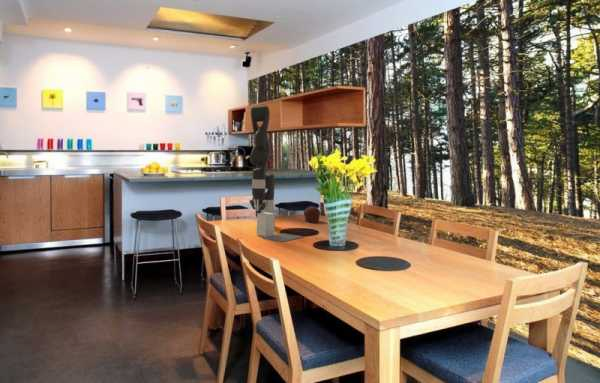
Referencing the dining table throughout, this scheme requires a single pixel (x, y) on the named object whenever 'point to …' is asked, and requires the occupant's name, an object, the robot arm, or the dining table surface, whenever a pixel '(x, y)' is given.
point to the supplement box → (265, 224)
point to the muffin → (312, 214)
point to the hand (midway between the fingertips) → (258, 217)
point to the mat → (282, 237)
